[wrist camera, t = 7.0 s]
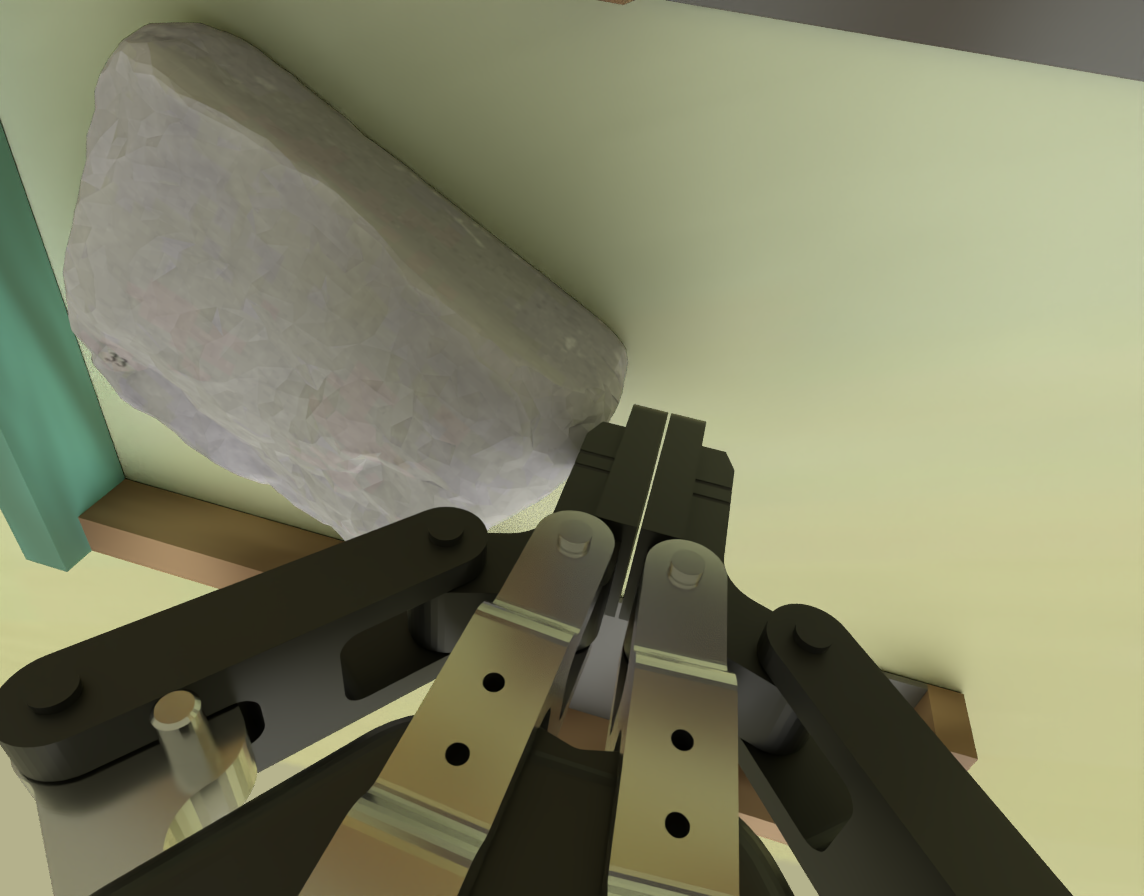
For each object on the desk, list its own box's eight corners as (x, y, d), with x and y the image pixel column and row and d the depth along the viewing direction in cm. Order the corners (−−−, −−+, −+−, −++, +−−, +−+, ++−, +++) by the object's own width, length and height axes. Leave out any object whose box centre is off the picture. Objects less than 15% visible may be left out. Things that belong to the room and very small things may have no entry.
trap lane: (2076, -691, 6) (2825, -1057, 4) (869, 811, 24) (877, 906, 22) (-401, -780, 10) (-765, -996, 8) (131, 585, 28) (69, 645, 25)
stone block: (495, 509, 23) (679, 334, 16) (418, 630, 20) (602, 483, 13) (180, 277, 21) (220, -44, 14) (42, 370, 18) (-4, 19, 11)
